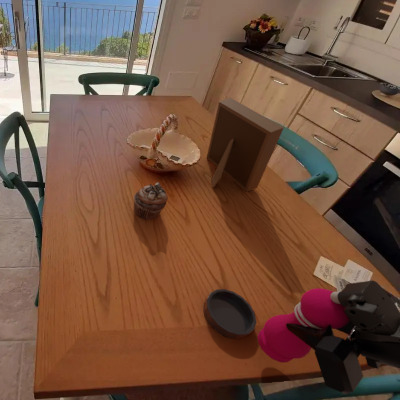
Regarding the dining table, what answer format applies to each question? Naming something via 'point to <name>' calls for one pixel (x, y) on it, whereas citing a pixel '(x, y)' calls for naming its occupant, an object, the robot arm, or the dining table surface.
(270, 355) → the pepper mill
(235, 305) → the tray
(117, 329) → the dining table surface
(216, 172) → the photo frame
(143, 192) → the cupcake
